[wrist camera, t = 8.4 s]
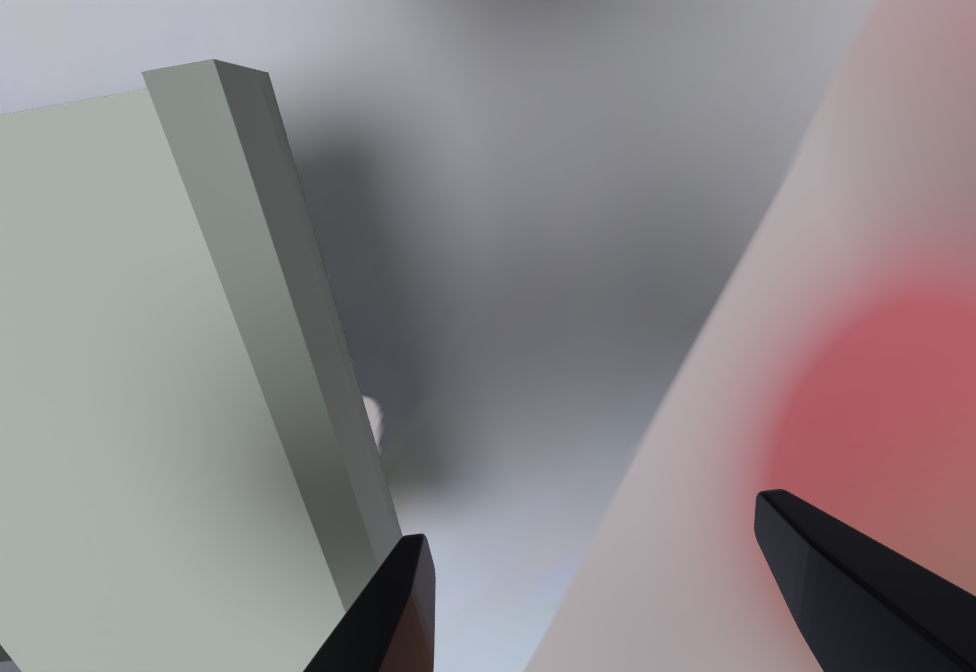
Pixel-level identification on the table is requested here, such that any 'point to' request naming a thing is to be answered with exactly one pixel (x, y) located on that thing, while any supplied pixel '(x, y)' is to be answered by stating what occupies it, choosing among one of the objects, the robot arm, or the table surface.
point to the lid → (174, 390)
